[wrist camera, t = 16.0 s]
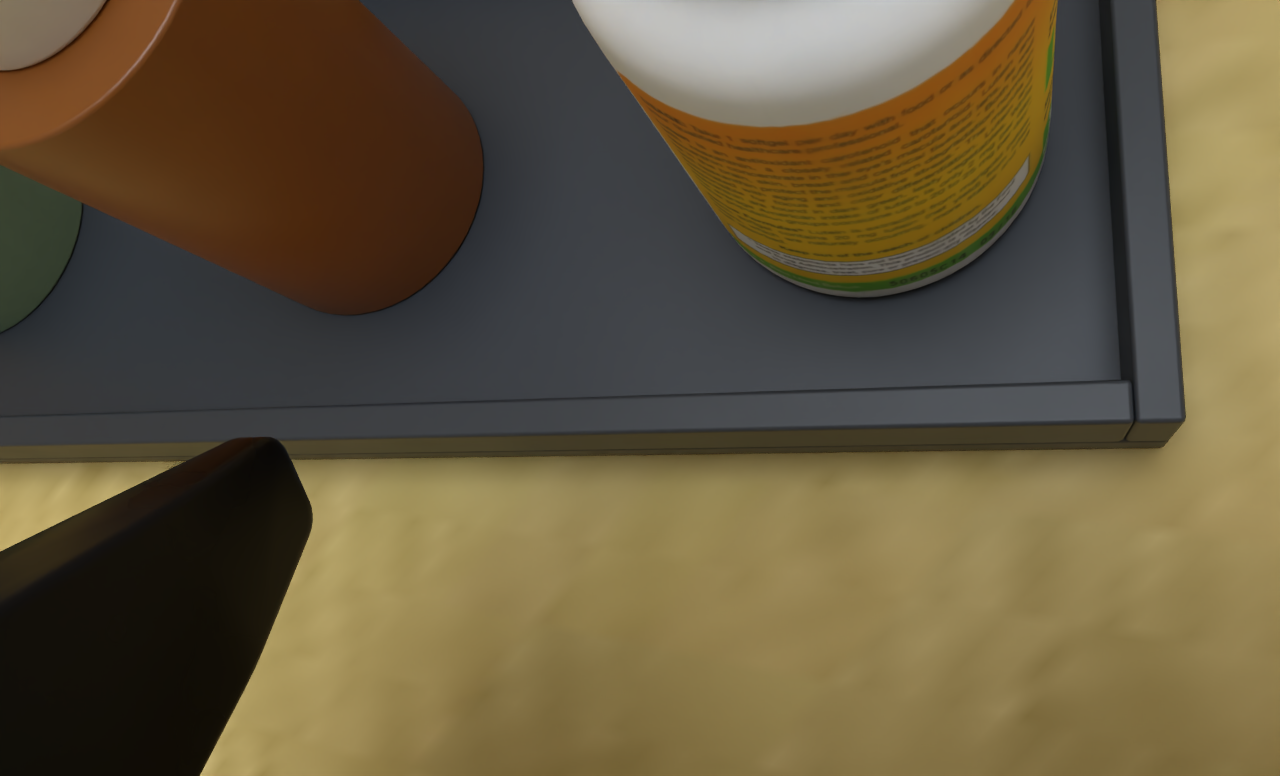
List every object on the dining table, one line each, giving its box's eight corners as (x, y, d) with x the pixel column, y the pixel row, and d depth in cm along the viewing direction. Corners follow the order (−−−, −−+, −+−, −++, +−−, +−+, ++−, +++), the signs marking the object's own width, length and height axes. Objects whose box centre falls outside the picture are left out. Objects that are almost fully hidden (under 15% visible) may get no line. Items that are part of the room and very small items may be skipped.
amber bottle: (298, 362, 20) (-307, 133, 11) (230, 152, 22) (-345, -201, 13) (522, 233, 19) (66, -138, 10) (434, 23, 21) (-28, -463, 12)
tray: (-155, 465, 24) (-257, 451, 22) (-76, 57, 26) (-162, 11, 24) (1164, 448, 16) (1186, 421, 14) (1124, -161, 18) (1138, -258, 16)
